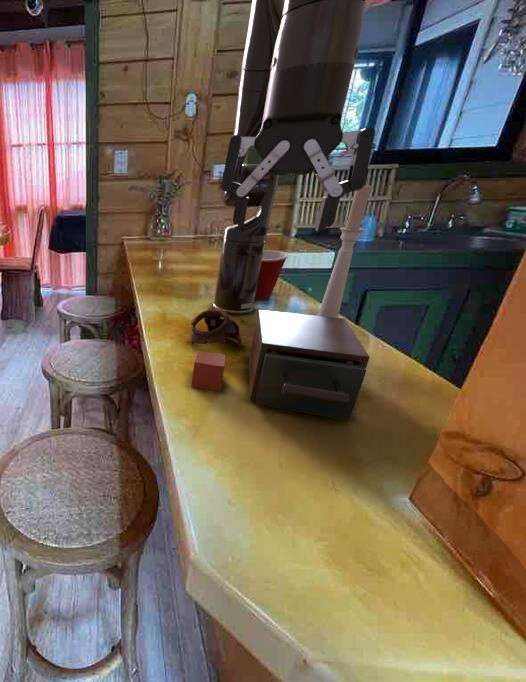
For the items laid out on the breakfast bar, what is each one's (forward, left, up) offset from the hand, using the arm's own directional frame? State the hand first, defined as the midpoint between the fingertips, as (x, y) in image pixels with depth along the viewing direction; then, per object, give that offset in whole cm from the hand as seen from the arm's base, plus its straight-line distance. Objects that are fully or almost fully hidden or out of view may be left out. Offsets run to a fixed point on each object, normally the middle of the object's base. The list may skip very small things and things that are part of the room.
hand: (278, 230), depth 45 cm
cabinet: (-10, +7, -26) cm, 29 cm away
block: (-6, -6, -26) cm, 27 cm away
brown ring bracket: (-23, -6, -26) cm, 35 cm away
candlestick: (-26, +13, -26) cm, 39 cm away
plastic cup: (-58, +3, -26) cm, 63 cm away
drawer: (-5, +7, -25) cm, 26 cm away
